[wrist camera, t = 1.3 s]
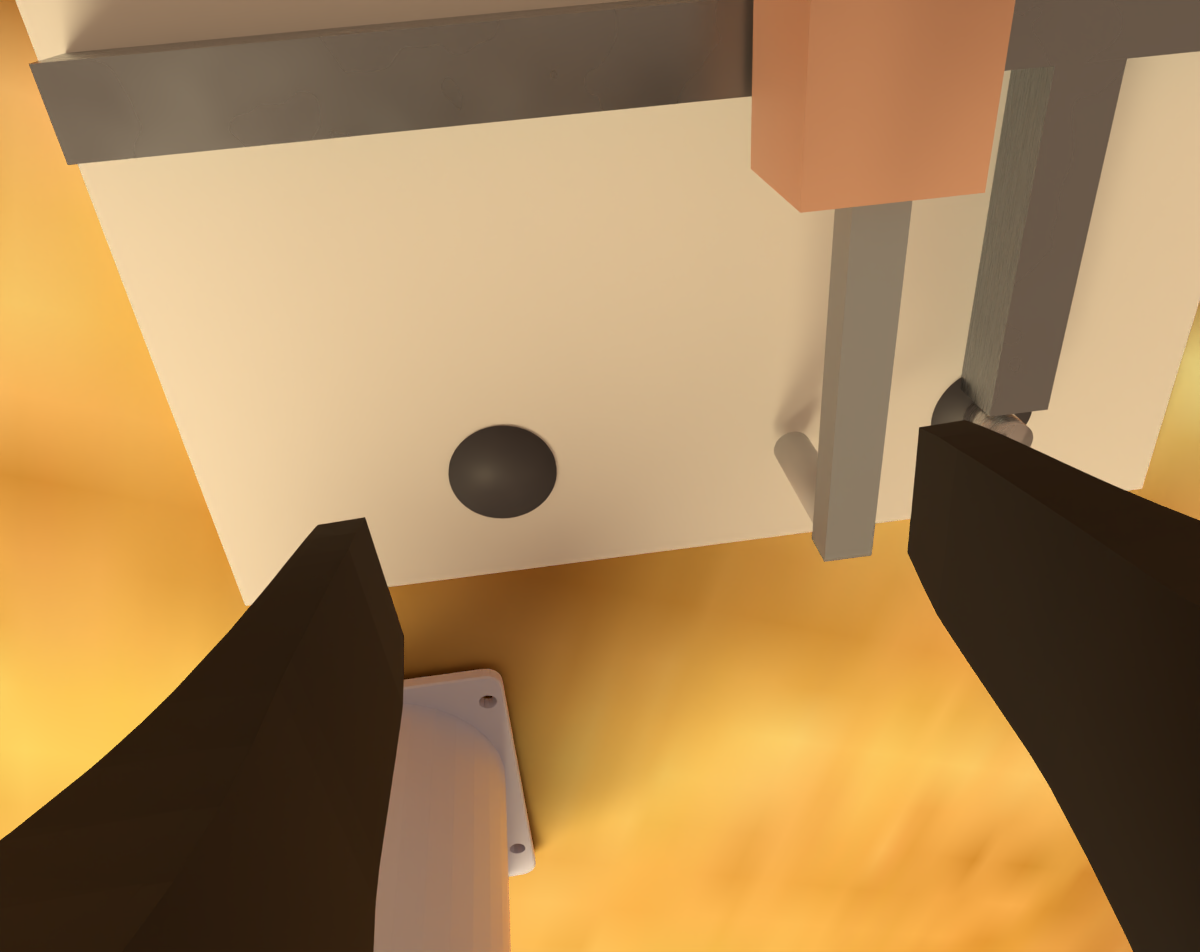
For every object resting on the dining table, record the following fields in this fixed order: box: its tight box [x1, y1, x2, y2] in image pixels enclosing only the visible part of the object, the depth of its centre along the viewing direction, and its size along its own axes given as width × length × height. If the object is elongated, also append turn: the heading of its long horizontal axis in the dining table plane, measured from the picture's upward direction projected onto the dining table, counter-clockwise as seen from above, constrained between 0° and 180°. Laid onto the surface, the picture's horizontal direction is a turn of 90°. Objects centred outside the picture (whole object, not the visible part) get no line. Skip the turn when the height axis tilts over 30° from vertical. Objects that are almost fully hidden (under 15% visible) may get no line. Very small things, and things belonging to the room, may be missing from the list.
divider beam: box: [29, 0, 1200, 447], centre depth 19 cm, size 10×23×2 cm, turn 94°
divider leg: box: [751, 0, 1015, 562], centre depth 17 cm, size 11×3×4 cm, turn 4°
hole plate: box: [16, 0, 1200, 606], centre depth 19 cm, size 16×24×1 cm, turn 94°
